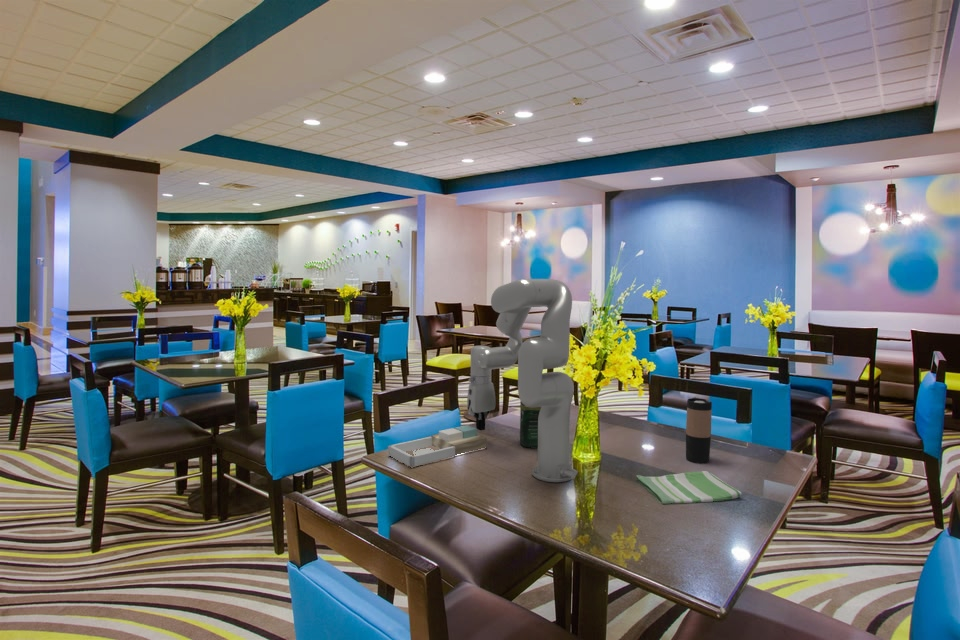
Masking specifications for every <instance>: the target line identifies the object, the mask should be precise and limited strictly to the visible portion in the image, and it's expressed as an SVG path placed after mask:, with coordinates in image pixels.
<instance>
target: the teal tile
mask: <svg viewBox="0 0 960 640" xmlns="http://www.w3.org/2000/svg"><path fill="white" fill-rule="evenodd" d="M453 428H454V429H456V430H459V431H462V432H463V438H469V437H473V436H477V434H478V429H477V428H476V427H474V426H472V425H471V426H470V425H468V424H466V425H462V426H457V427H453Z"/></svg>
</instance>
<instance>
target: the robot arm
mask: <svg viewBox="0 0 960 640" xmlns="http://www.w3.org/2000/svg"><path fill="white" fill-rule="evenodd" d="M490 305H491V308H492V309H493V311H495V313H498V317H497V320H496V322H495V325H496V329H498V331H499V332H500V333H502V334H504V335H505V336H506V337H509V339H508V341H507V343H506V345H505V346H496V347H490V346H488V345H474V346H472V347H471V349H470V377H469V378H468V382H469V385H468V390H467V399H466V401H467V402H466V407H467V411H468V413H467V415H468V416H471V417H472V416H473V417H474V419H475V420H476V421H475V428H477V431H480V432H482V431H485V430H486V419H488V418H487V417H488V415H489V414H490V413H492V412H493V411H494V410H495V408H496V392H495V386H494V383H493V382H492V370H496V369H506V368H511V367H513V366H514V365H515V364H516V363H517V389H518V391H517V392H518V393H517V394H518V397H519V400H521V402H522V403H523V404H524V405H525V406H526V407H530V408H535V407H541V406H542V407H541V409H540V412H539V417H538V447H537V465H536V466H535V467H533V468H532V471H531V472H532V473H531V474H532V476H533V477H534V478H536V479H537V480H540V481H543V482H547V483H548V482H549V483H563V482H569V481H571V480H574V479H576V476H577V475H578V473H579V471H578V470H577V469H575V468H572V467H573V466H572V465H573V463H572V462H570V435H571V434H570V433H571V432H570V430H571V428H570V426H571V424H570V423H571V410H572V409H571V408H572V403H573V397H574V393H575V392H574V391H575V385H574V382H573V380H572V378H571V377H570V376H569V375H568V374H566V372H562V371H551V372H544V371H543V370H550V369H552V370H553V369H558V368H561V367H564V366H566V364H568V362H569V360H570V359H569V358H570V335H571V333H570V331H571V329H570V323H571V322H570V321H571V320H570V319H571V313H572V309H573V307H572V306H573V296H572V292H571V290H570V288H569V287H568V285H566V283H564V282H562V281H560V280H558V279H553V278H552V279H550V278H523V279H517V280H514V281H511V282H508V283H506V284H503V285H500V286H498V287H497V288H496V289H495V290H494V291H493V293H492V295H491V298H490ZM543 307H544V308H547V309H546V311H544V314H543V316H542V318H541V320H540V321H541V322H540V336H539V337H530V338H528V339H525V340H524V341H523V336H522V334H521V330H522V328H523V325H524V323H525V321H526V319H527V318H528V316H529V314H530V312H531V310H532V308H543ZM543 372H544V373H543Z"/></svg>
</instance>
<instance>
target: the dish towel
mask: <svg viewBox="0 0 960 640" xmlns="http://www.w3.org/2000/svg"><path fill="white" fill-rule="evenodd" d="M635 476H636V478H638V479H637V482H638V483H639V484H640V485H641V486H642V487H643V486H644V487H643V488H645V489H646V490H647V492H649V493H650V494H651V495H652V496H653V498H654V499H655V500H656V499H657V502H659V503H660V504H662V505H669V504H670V505H671V503H672V504H696V502H698V503H711V502H713V501H714V502H723V501H724V500H726V501H730V500H734V499H735V500H736V499H738V498H740V496H742V491H740V490H738V489H736V488H735V487H733V486H732V485H730V484H728V483H726V482H725V481H723V480H722V479H720V478H719V477H718V476H716V475H715V474H713V473H711V471H707V470H700V471H699V470H698V471H689V472H687V471H686V472H680V473H675V474H673V473H671V474H666V475H665V474H664V475H662V476H644V475H639V474H637V475H635ZM724 502H725V501H724Z"/></svg>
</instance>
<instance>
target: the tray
mask: <svg viewBox="0 0 960 640" xmlns="http://www.w3.org/2000/svg"><path fill="white" fill-rule="evenodd" d="M428 446H432V437H431V436H427V437H423V438H418V439H414V440H413V439H412V440H408V441H404V442H399V443H395V444H391V445H387V455H388V454H389V455H390V456H392V457H394V458H396V459H398V460H400V461H402V462H403V463H405V464H407V465H409V466H411V467H413V466H418V465H422V464H426V463H430V462H433V461H437V460H441V459H444V458H448V457H452V456H455V447H454V446H452V447H448V448H443V449H439V450H435V451H434V450H433V449H431V448H426V449H420V448H424V447H428ZM416 449H418V450H417V451H416ZM419 449H420V450H419ZM430 449H431V450H430ZM411 450H412V451H413V450H414V451H413V454H414V456H412V455H410V454H408V453H406V451H411ZM415 451H416V452H415ZM415 454H416V455H415Z"/></svg>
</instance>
